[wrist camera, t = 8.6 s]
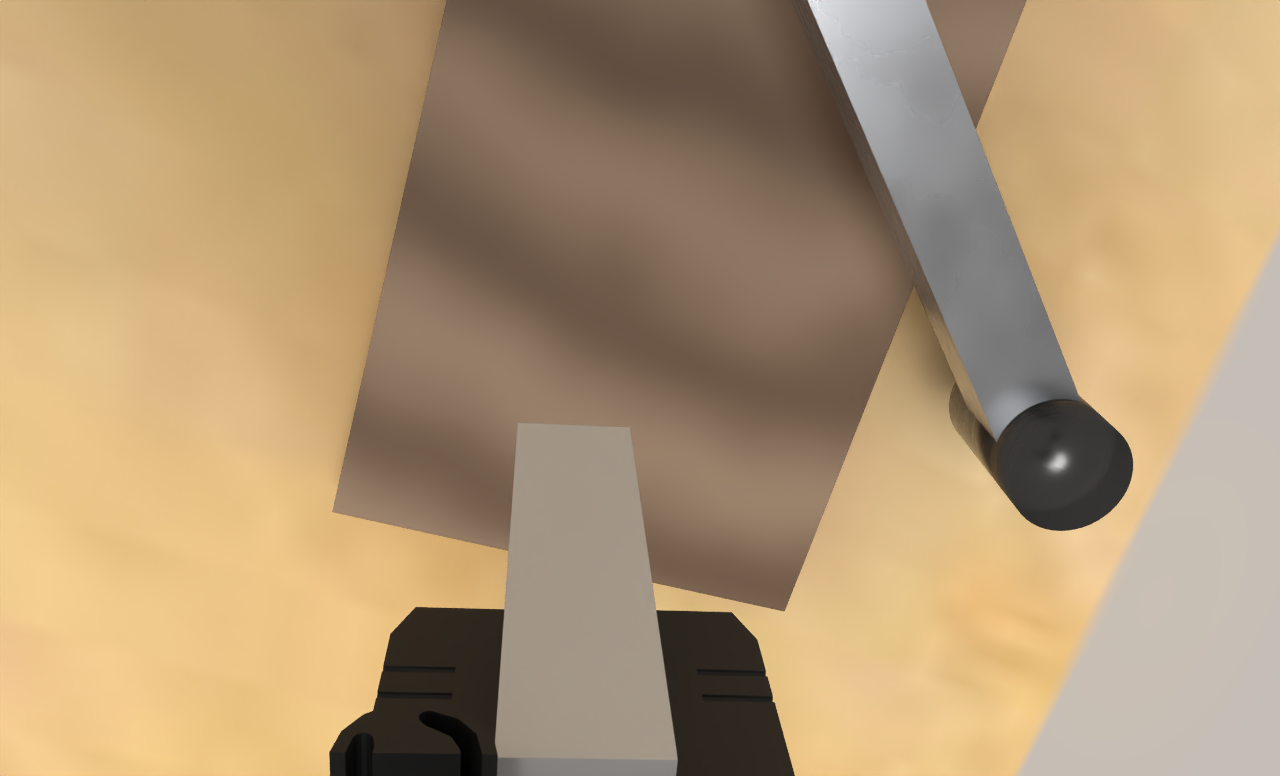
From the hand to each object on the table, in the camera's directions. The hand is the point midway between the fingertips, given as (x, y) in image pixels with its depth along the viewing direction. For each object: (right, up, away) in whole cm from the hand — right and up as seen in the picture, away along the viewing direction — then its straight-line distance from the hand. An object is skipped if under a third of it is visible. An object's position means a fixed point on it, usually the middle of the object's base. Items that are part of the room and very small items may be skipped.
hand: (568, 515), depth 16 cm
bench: (+3, +11, +18) cm, 21 cm away
